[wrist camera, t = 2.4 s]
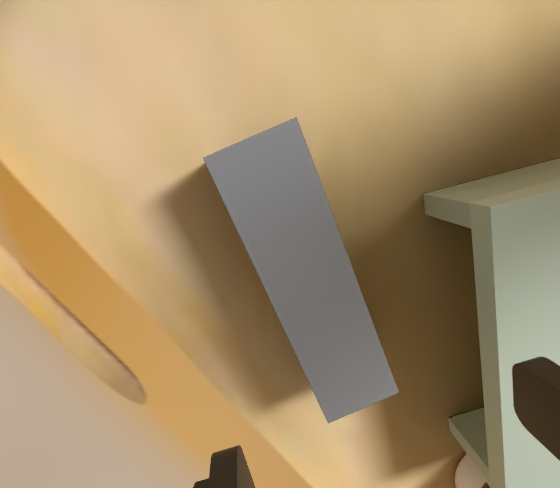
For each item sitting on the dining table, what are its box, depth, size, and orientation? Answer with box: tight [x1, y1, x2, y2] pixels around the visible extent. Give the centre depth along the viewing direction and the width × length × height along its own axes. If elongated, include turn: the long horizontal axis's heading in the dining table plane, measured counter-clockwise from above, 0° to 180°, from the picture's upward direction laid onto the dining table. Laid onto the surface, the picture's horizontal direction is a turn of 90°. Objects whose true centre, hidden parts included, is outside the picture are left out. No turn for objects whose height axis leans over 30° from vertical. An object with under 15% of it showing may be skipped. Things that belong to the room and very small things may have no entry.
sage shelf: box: [423, 158, 560, 488], centre depth 22 cm, size 12×22×7 cm, turn 13°
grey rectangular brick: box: [203, 117, 399, 423], centre depth 21 cm, size 5×18×5 cm, turn 23°
